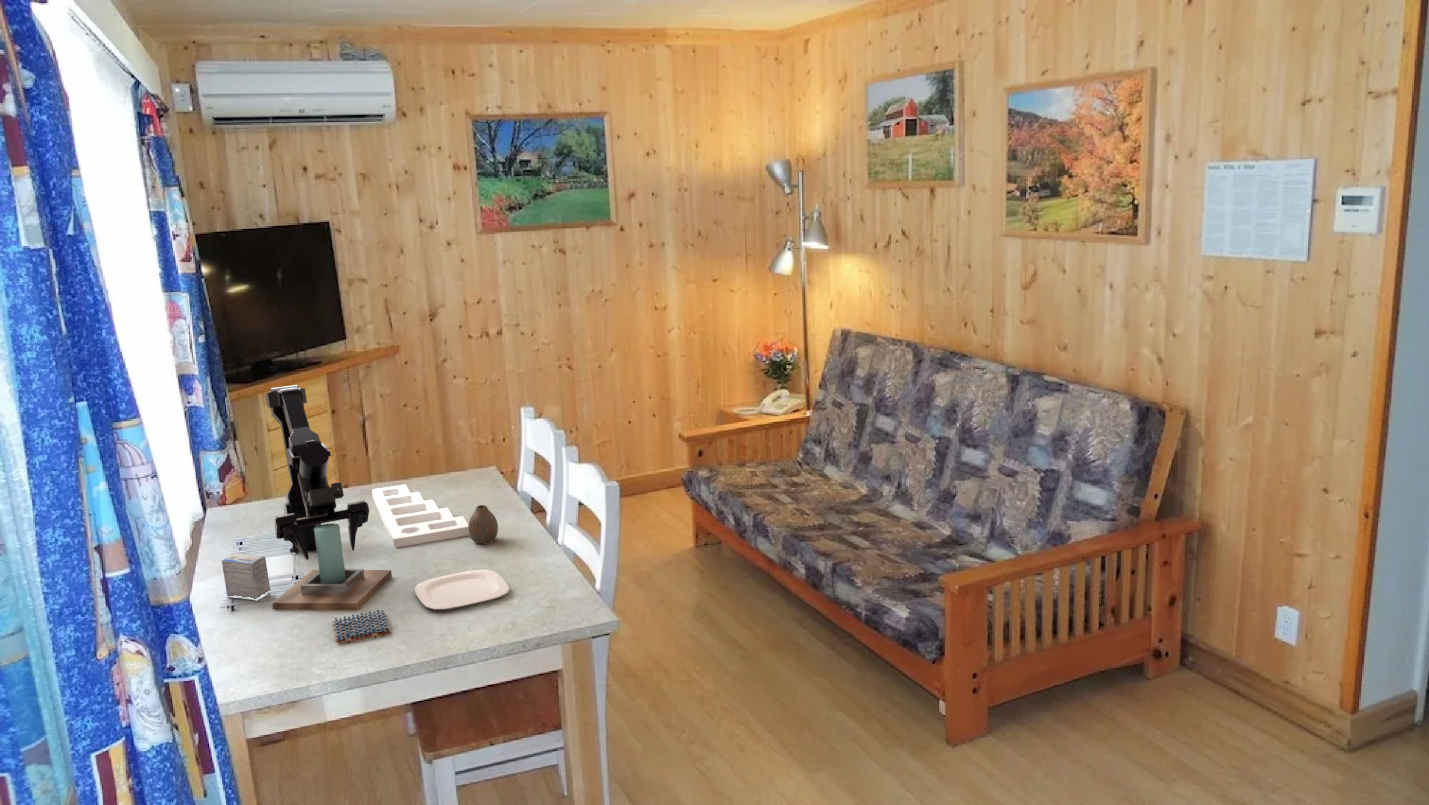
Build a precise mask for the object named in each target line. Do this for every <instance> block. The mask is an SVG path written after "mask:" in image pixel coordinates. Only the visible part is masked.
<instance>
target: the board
mask: <svg viewBox="0 0 1429 805" xmlns="http://www.w3.org/2000/svg"><path fill="white" fill-rule="evenodd" d="M344 569H345V577H346V581H345V582H344V583H342V584H321V580H320V572H319V569H312V570H311V571H310V572H309V573H307V574H305V575H304V576H303V577H302V578H300V580H299V581H297V582H296V583H295V584H293V585H292V586H291V587H290V588H289V589H287V590H286V591H285V592H283V594H281V595H280V596H279V597H277V598H276V599H274V601H272V602H271V605H272V610H273V609H276V610H275V611H279V610H280V611H281V610H282V611H284V610H285V611H358V610H359V609H360V608H361V607H363V605H364V604H365V603H367V601H368V600H370V599H371V598H372V597H373V596H374V594H376V593H377V591H379V590H380V589H381V588H382V587H383V586H384V585H385V584H386V583H387V582H388V581H389V580H390V579H391V578H392V574H393V573H392V569H364V568H344Z"/></svg>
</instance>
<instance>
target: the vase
mask: <svg viewBox="0 0 1429 805" xmlns="http://www.w3.org/2000/svg"><path fill="white" fill-rule="evenodd" d="M468 530H469V534H470V535H469V537H470V538H471V540H472V541H473V542H474V543H475V544H477V543H478V544H477V545H486V544H485V543H488V544H490V543H489V542H491V541H492V542H494V540H495V539H496V538H497V536H498V533H499V532H498V531H499V524H498V521H497V518H496V516H495V514H494V513H492V511H491V510H490V509H489V508H488V506H487V505H484V504H481V505H477V506H476V507H475V510H474V512H473V513H472V514H471V516H470V518H469V520H468ZM492 542H491V543H492Z"/></svg>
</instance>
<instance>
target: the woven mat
mask: <svg viewBox="0 0 1429 805" xmlns="http://www.w3.org/2000/svg"><path fill="white" fill-rule="evenodd" d="M387 616H388V614H387V613H386V611H385V610H381V611H380V610H379V609H377V610H376V611H373V612H371V610H370V611H368V613H364V614H363V612H360V615H359V614H356V616H355V614H352V615H351V616H346V615H344V616H343V619H342V618H341V617H339V619H338V618H337V617H335V618H334V619H335V620H334V621H333V623H332V627H333V631H334V636H333V637H334V638H335V640H334V642H336V643H337V645H342V644H343V645H344V644H350V643H354V642H359V641H364V640H370V639H376V638H380V637H384V636H390V635H392V634H393V633H392V629H391V628H392V627H391V625H390V621H389V618H388V617H387Z"/></svg>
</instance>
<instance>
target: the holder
mask: <svg viewBox="0 0 1429 805" xmlns="http://www.w3.org/2000/svg"><path fill="white" fill-rule="evenodd" d="M371 491H372V492H371V493H372V499H373V501H374V503H375V506H376V508H377V510H378V513H379V515H380V517H381V519H382V520H381V521H382V523H383V524H384V527H385V529H386V531H387V534H388V537H389V538H390V541H391V543H392V546H393V548H396V549H397V548H401V547H407V546H413V545H418V544H424V543H425V544H426V543H431V542H436V541H443V540H449V539H454V538H459V537H458V536H461V537H464V536H463V535H467V536H470V535H469V530H468V524H469V522H467V520H466V518H465V517H464V516H463V515H461V516H453V514H452V512H451V511H450V509H449V508H448V507H442V508H441V507H440V508H439V507H438V506H437V504H436V502H435V501H434V499H426V500H424V498H423V497H422V495H421V493H420V492H419V491H414V492H411V491H410V490H409V488H408V486H407V484H398V485H392V486H386V487H379V488H373V489H372V490H371ZM448 538H449V539H448Z"/></svg>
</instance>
